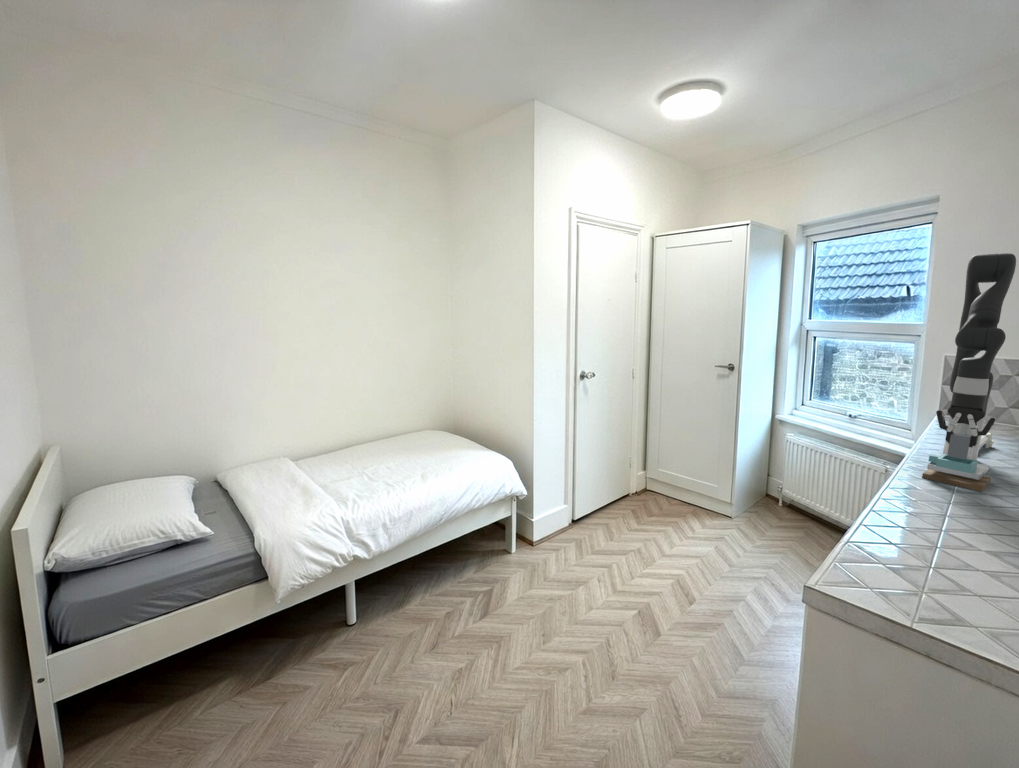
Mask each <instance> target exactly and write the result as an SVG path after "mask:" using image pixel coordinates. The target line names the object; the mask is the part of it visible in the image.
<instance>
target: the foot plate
mask: <svg viewBox="0 0 1019 768" xmlns="http://www.w3.org/2000/svg"><path fill="white" fill-rule="evenodd" d="M921 478H923V479H927V480H931V481H934V482H940V483H944V484H949V485H952V486H957V487H961V488H964V489H965V488H966V489H970V490H974V491H978V492H983V491H984V490H985V489H986V488H987V487H988V485H989V484H990V483H991V479H992V477H991V476H986V475H983V476H982V477H981V478H980V479H979V480H977V479H972V478H967V477H963V476H958V475H954V474H949V473H945V472H940V471H935V470H931V469H926V470H924V472H923V473H922V475H921Z"/></svg>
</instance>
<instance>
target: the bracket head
mask: <svg viewBox="0 0 1019 768" xmlns="http://www.w3.org/2000/svg"><path fill="white" fill-rule="evenodd" d="M928 462H929V463H930V462H934V463H936V466H938V467H943V468H948V469H953V470H957V471H962V472H967V473H972V472H973V471H974V470H975V469H976V468H977V463H979V461H978V459H977V460H972V459H967V460H966V459H961V458H956V457H951V456H947V455H946V454H943V453H942V454H941V455H935V454H933V453H931V454H929V457H928Z"/></svg>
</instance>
